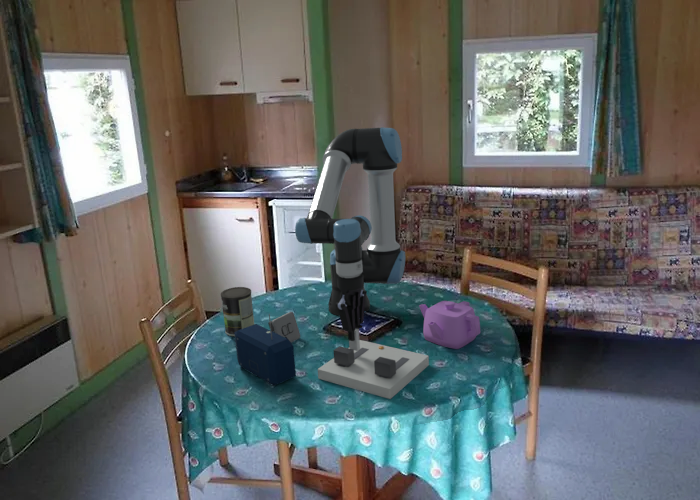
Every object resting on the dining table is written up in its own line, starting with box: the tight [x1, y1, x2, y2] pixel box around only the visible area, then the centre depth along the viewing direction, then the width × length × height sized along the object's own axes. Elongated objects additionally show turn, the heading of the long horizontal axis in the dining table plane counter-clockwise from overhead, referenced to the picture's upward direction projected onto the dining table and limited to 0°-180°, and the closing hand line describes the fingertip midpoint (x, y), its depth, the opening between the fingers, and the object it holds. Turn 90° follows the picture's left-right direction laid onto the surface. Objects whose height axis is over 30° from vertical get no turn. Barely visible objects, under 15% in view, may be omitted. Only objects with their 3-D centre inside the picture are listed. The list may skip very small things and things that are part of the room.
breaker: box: [374, 357, 396, 378], centre depth 174 cm, size 3×5×4 cm, turn 56°
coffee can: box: [220, 286, 255, 337], centre depth 216 cm, size 10×10×14 cm
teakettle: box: [418, 300, 481, 350], centre depth 200 cm, size 17×17×12 cm
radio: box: [234, 313, 297, 387], centre depth 184 cm, size 21×9×20 cm, turn 42°
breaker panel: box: [317, 339, 430, 400], centre depth 183 cm, size 22×24×3 cm
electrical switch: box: [268, 311, 301, 344], centre depth 206 cm, size 9×5×9 cm, turn 141°
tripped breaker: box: [332, 345, 354, 367], centre depth 182 cm, size 3×5×4 cm, turn 56°
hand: (354, 348), depth 187 cm, fingers closed
